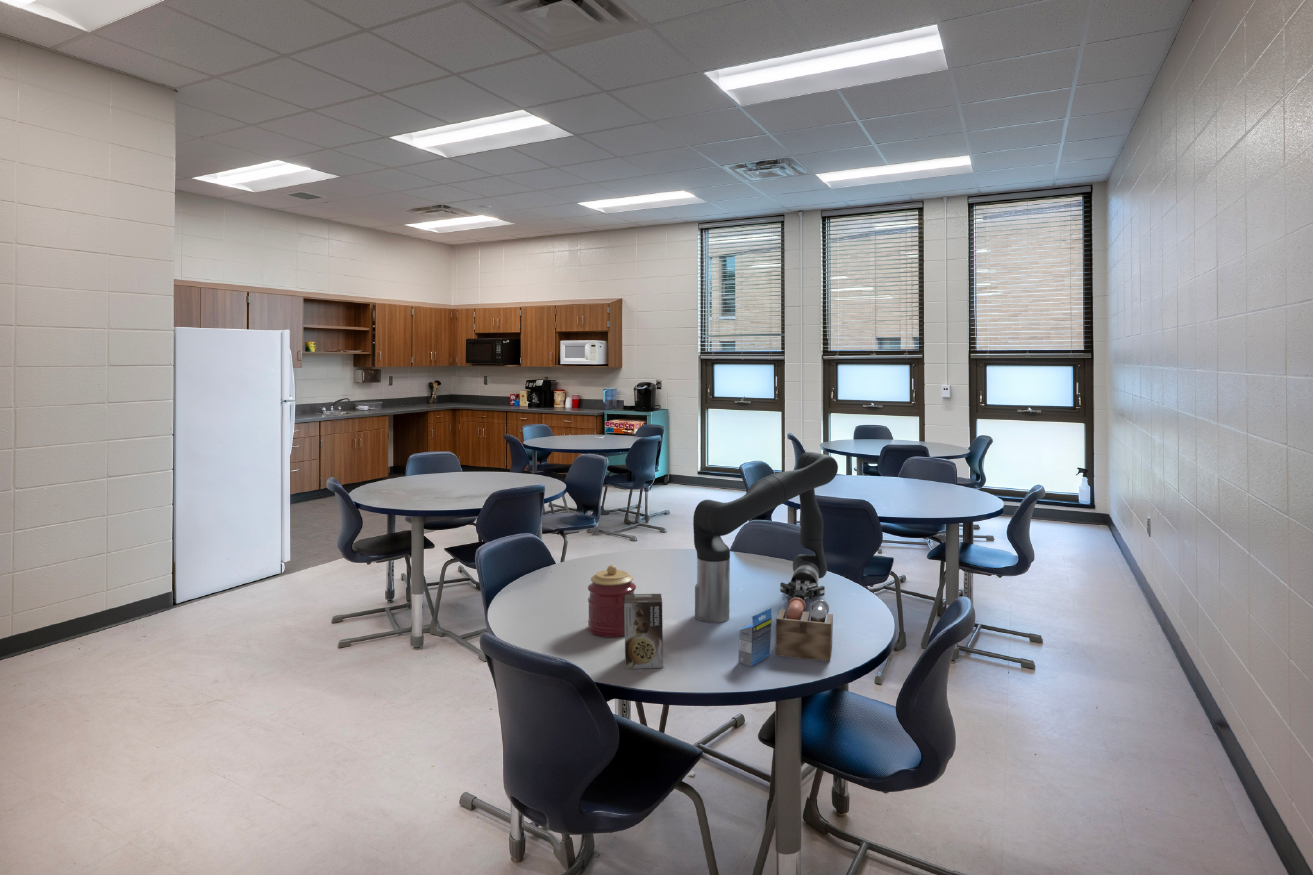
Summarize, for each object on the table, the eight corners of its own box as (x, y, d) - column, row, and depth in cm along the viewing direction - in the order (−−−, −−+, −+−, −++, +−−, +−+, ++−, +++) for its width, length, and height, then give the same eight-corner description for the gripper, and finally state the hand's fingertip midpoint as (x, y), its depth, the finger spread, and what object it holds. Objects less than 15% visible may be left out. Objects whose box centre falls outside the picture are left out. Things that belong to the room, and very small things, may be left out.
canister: (629, 640, 186) (629, 573, 185) (581, 636, 189) (581, 570, 187) (641, 622, 199) (640, 560, 197) (595, 619, 202) (595, 557, 200)
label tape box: (757, 651, 179) (757, 603, 177) (771, 656, 176) (772, 607, 175) (737, 663, 172) (738, 612, 171) (752, 667, 169) (753, 616, 168)
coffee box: (662, 657, 175) (662, 593, 173) (663, 668, 168) (663, 601, 167) (624, 658, 175) (624, 593, 173) (624, 669, 168) (624, 601, 167)
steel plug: (808, 627, 179) (808, 610, 179) (811, 615, 188) (811, 598, 188) (826, 629, 178) (826, 611, 177) (828, 616, 187) (829, 600, 186)
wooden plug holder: (775, 655, 176) (776, 618, 176) (780, 642, 184) (780, 607, 184) (830, 661, 173) (831, 624, 172) (832, 648, 181) (832, 612, 180)
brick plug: (784, 624, 181) (784, 607, 180) (788, 612, 190) (788, 596, 189) (801, 626, 179) (802, 609, 179) (805, 614, 188) (805, 598, 188)
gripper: (782, 566, 213) (774, 582, 196) (828, 569, 209) (824, 587, 192) (782, 591, 213) (774, 609, 197) (827, 595, 209) (823, 614, 193)
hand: (799, 598), depth 195 cm, fingers closed
